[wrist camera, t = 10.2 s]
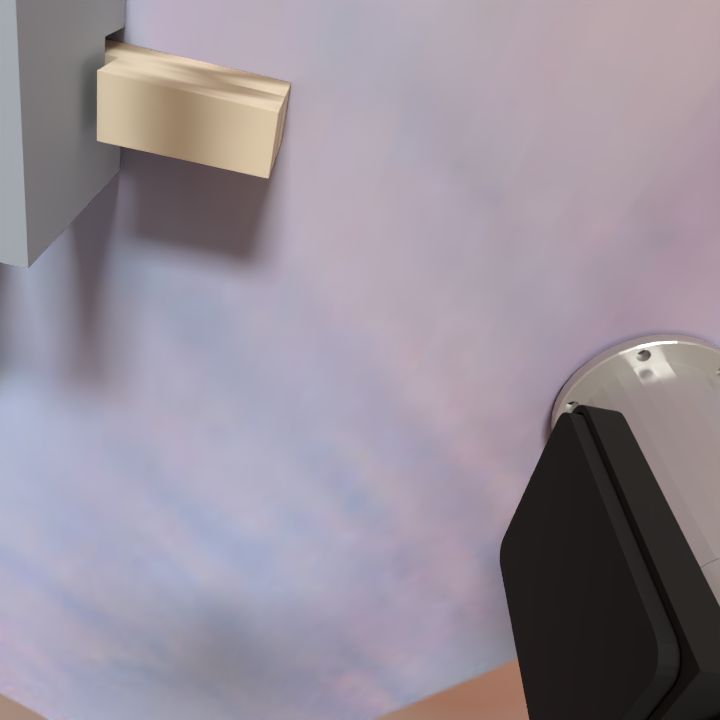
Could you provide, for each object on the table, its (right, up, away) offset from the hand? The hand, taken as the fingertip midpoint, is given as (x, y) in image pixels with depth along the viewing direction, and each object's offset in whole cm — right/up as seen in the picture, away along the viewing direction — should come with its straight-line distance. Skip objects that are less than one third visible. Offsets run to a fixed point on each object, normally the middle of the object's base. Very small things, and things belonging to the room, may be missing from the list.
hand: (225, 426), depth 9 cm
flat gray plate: (-12, +16, +24) cm, 31 cm away
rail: (-12, +16, +24) cm, 31 cm away
